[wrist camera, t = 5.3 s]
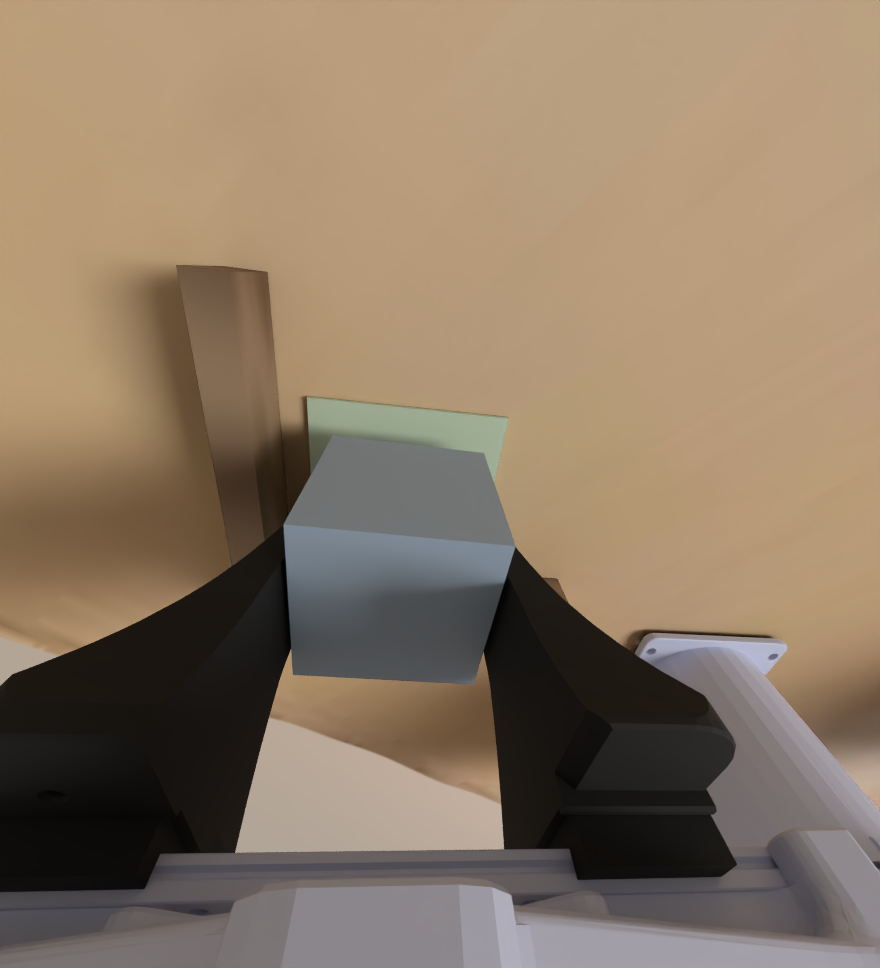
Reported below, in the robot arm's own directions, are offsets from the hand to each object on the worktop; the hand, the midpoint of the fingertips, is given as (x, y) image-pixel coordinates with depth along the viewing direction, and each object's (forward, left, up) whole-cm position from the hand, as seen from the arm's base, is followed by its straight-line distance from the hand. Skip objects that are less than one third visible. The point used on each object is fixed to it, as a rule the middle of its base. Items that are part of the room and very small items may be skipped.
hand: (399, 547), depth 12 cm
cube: (0, 0, -2) cm, 2 cm away
